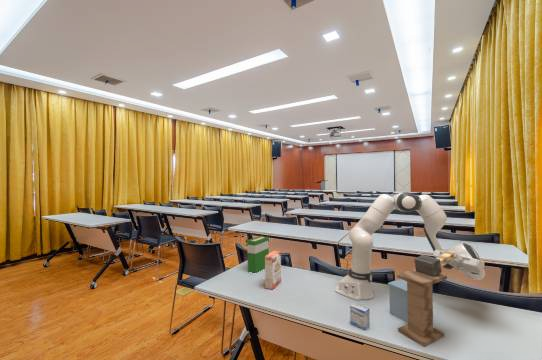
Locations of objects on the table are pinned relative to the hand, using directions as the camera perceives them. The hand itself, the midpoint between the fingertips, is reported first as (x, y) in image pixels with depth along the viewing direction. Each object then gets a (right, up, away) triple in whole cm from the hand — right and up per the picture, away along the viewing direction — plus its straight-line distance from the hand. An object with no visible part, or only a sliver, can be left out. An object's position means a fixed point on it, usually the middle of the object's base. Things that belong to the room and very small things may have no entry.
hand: (448, 253), depth 123 cm
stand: (-18, -33, -9) cm, 39 cm away
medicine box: (-44, -33, -2) cm, 55 cm away
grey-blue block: (-16, -32, +7) cm, 37 cm away
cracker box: (-84, -34, +45) cm, 101 cm away
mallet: (-7, -4, -4) cm, 9 cm away
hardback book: (-95, -34, +74) cm, 126 cm away
